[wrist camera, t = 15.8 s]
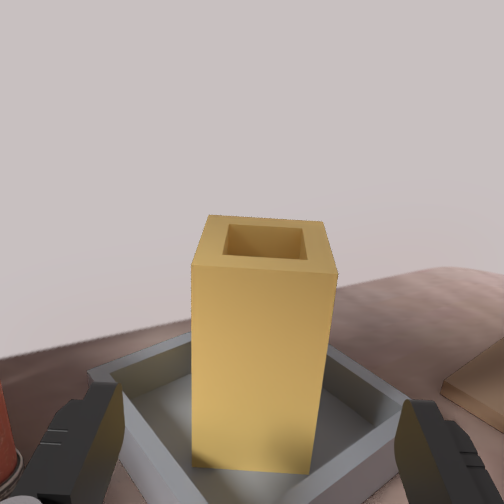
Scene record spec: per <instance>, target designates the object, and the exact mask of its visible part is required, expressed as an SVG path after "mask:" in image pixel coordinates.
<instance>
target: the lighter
mask: <svg viewBox="0 0 504 504" xmlns="http://www.w3.org/2000/svg"><path fill="white" fill-rule="evenodd" d="M24 470H25V467H24V462H23V457H22V455H21V453H20V452H19V451H18V450H17V449H16V448H15V444H14V440H13V435H12V431H11V426H10V422H9V417H8V413H7V408H6V404H5V399H4V395H3V390H2V385H1V381H0V502H1V501H3V500H5V499H8V498H9V497H10V495H11V494H12V492H13V490H14V488H15V486H16V485H17V483H18V481H19V479H20V477H21V476H22V474H23V472H24Z"/></svg>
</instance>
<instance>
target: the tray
mask: <svg viewBox="0 0 504 504" xmlns="http://www.w3.org/2000/svg"><path fill="white" fill-rule="evenodd" d="M87 377H88V385H89V387H90V385H91V384H92V383H93V382H94V381H96V382H115V383H121V385H122V393H123V405H124V417H125V433H124V440H123V444H122V447H121V450H120V453H119V456H118V458H119V460H120V461H121V463H122V464H123V466H124V468H125V469H126V471H127V472H128V474H129V475H130V477H131V479H132V480H133V482H134V483H135V485H136V486H137V488H138V490H139V491H140V493H141V494H142V496H143V497H144V499H145V501H146V502H147V504H362V503H363V502H364V501H365V500H367V499H368V498H369V497H370V496H371V495H372V494H374V493H375V492H376V491H377V490H378V489H379V488H381V487H382V486H383V485H384V484H385V483H387V482H388V481H389V480H390V479H391V478H392V477H394V476H395V475H396V474H397V473H398V472H399V470H398V467H397V464H396V461H395V455H394V440H395V435H396V431H397V427H398V423H399V418H400V414H401V410H402V406H403V403H404V401H405V400H406V399H411V398H409V397H408V396H406V395H405V394H403V393H402V392H400V391H399V390H397V389H396V388H394V387H393V386H391V385H390V384H388V383H387V382H385V381H384V380H382V379H381V378H379V377H378V376H376V375H375V374H373V373H372V372H370V371H369V370H367V369H366V368H364V367H363V366H361V365H360V364H358V363H357V362H355V361H354V360H352V359H351V358H349V357H348V356H346V355H345V354H343V353H342V352H340V351H339V350H337V349H336V348H334V347H333V346H331V345H330V344H328V348H327V355H326V362H325V368H324V375H323V382H322V389H321V396H320V403H319V409H318V416H317V423H316V430H315V437H314V444H313V450H312V457H311V464H310V471H309V475H304V474H289V473H274V472H259V471H244V470H229V469H214V468H199V467H192V372H191V331H190V332H188V333H185V334H182V335H180V336H177V337H174V338H172V339H169V340H166V341H164V342H161V343H159V344H156V345H153V346H151V347H148V348H145V349H143V350H140V351H137V352H135V353H132V354H129V355H127V356H124V357H121V358H119V359H116V360H114V361H111V362H108V363H106V364H103V365H100V366H98V367H95V368H92V369H90V370H87Z"/></svg>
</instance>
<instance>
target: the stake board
mask: <svg viewBox="0 0 504 504" xmlns="http://www.w3.org/2000/svg"><path fill="white" fill-rule="evenodd" d="M440 394H441V395H443V396H444V397H446V398H448V399H449V400H451V401H452V402H454V403H456V404H457V405H459V406H460V407H462V408H464V409H465V410H467V411H468V412H470V413H472V414H473V415H475V416H476V417H478V418H480V419H481V420H483V421H484V422H486V423H488V424H489V425H491V426H492V427H494V428H496V429H497V430H499V431H500V432H502V433H504V337H503V338H502V339H500V340H499V341H498V342H496V343H495V344H493V345H492V346H491V347H489V348H488V349H487V350H485V351H484V352H482V353H481V354H480V355H478V356H477V357H475V358H474V359H473V360H471V361H470V362H468V363H467V364H466V365H464V366H463V367H462V368H460V369H459V370H457V371H456V372H455V373H453V374H452V375H450V376H449V377H448V378H446V379H445V380H444V382H443V385H442V389H441V392H440Z"/></svg>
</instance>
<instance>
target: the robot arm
mask: <svg viewBox="0 0 504 504" xmlns="http://www.w3.org/2000/svg"><path fill="white" fill-rule="evenodd" d="M124 433H125V417H124V405H123V393H122V385H121V383H115V382H96V381H94V382H93V383H92V384H91V385H90V387H89V389H88V391H87V393H86V395H85V397H84V399H83V400H74V399H71V400H70V401H69V402H68V403H67V404H66V405H65V406H63V407H62V408H61V409H60V410H59V411H58V412H57V413H56V414H55V416H54V418H53V420H52V422H51V423H50V425H49V427H48V431H47V432H45V434H44V436H43V438H42V440H41V443H40V445H38V447H37V449H36V450H35V452H34V454H33V456H32V458H31V459H30V461H29V463H28V465H27V467H26V468H25V470H24V472H23V474H22V476H21V477H20V479H19V481H18V483H17V485H16V486H15V488H14V490H13V492H12V494H11V495H10V497H9V498H8V499H5V500H3V501H1V502H0V504H102V502H103V499H104V497H105V494H106V491H107V488H108V485H109V482H110V479H111V476H112V473H113V471H114V468H115V465H116V462H117V459H118V456H119V453H120V450H121V447H122V444H123V440H124ZM394 455H395V461H396V464H397V467H398V470H399V474H400V477H401V480H402V483H403V486H404V489H405V492H406V496H407V499H408V502H409V504H504V502H503V500H502V498H501V496H500V494H499V492H498V490H497V488H496V486H495V484H494V483H493V481H492V479H491V477H490V475H489V473H488V471H487V470H485V466H484V464H483V462H482V460H481V458H480V456H478V452H477V450H476V448H475V447H474V445H473V443H472V441H471V439H470V437H469V435H468V434H467V433H465V432H464V431H463V430H462V429H461V428H460V427H459V426H458V425H457V424H456V423H455V422H454V421H447V420H444V419H443V417H442V415H441V413H440V411H439V409H438V407H437V405H436V403H435V402H434V401H432V400H413V399H406V400H405V401H404V403H403V406H402V410H401V414H400V418H399V423H398V427H397V431H396V435H395V440H394Z"/></svg>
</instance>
